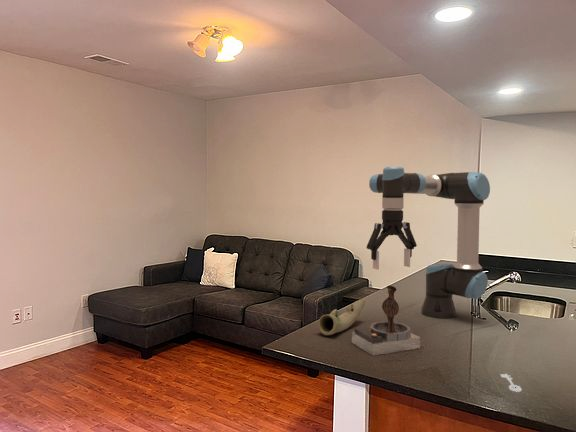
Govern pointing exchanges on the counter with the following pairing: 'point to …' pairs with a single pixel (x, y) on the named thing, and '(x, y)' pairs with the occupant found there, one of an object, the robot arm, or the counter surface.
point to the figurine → (390, 308)
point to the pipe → (340, 319)
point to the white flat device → (385, 338)
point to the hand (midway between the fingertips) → (391, 267)
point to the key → (511, 383)
